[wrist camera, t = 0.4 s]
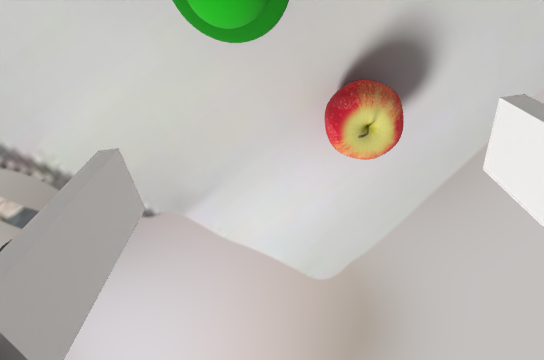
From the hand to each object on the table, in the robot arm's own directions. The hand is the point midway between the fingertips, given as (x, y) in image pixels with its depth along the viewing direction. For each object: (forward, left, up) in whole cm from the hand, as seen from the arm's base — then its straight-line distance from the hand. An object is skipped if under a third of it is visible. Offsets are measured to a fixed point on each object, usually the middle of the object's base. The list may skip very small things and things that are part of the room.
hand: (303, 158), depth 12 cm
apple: (+10, +6, -28) cm, 30 cm away
